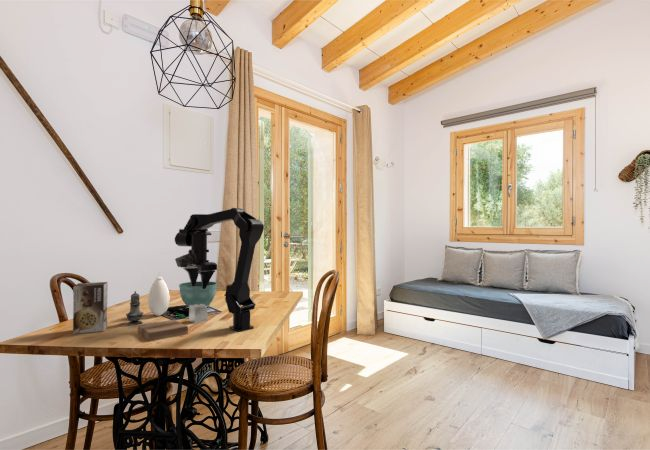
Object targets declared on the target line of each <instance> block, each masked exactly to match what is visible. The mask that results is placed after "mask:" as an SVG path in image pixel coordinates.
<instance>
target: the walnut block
mask: <svg viewBox="0 0 650 450" xmlns="http://www.w3.org/2000/svg"><path fill="white" fill-rule="evenodd" d="M188 328H189V326H188V325H186V324H184V323H181V322H180V321H177V320H176V319H170V320H164V321H158V322H152V323H146V324H145V323H144V324H138V325H137V334H138V335H140V336H142V337H143V338H144V339H146V340H147V341H149V342H155V341H157V340H158V341H159V340H163V339H164V340H165V339H169V338H174V337H179V336H183V335H188V334H189V333H188V330H189V329H188Z"/></svg>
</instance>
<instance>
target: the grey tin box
mask: <svg viewBox="0 0 650 450" xmlns="http://www.w3.org/2000/svg"><path fill="white" fill-rule="evenodd" d="M188 321H189V322H190V323H193V324H199V323H204V322H208V308H207V305H204V304H195V305H189V309H188Z"/></svg>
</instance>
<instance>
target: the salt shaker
mask: <svg viewBox="0 0 650 450" xmlns="http://www.w3.org/2000/svg"><path fill="white" fill-rule="evenodd" d="M129 305H130V307H129V308H130V309H129V312H128V313H126V314H125V316H126V319H127V320H128V322H126V325H127V326H138V325H143V321H142V320H141V319H142V318H143V315H144V312H143V311H141V310H140V305H141V302H140V294H139V293H137V290H135V291H134V293H132V294H131V296H130V303H129Z"/></svg>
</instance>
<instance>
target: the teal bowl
mask: <svg viewBox="0 0 650 450" xmlns="http://www.w3.org/2000/svg"><path fill="white" fill-rule="evenodd" d="M178 286H179V294H180V297H181V299H182V302H183V303H184V304H185V305H186V307H187V306H189V305H195V304H204V305H207V307H208V308H209V307H210V305H211V303H212V302H213V300H214V298H215V296H216V293H217V287H218V283H217V282H215V281H209V283H208V285H207V287H206V289H202V282H201V280H200V281H196V284H195V286H192V285H191V281H188V282H181V283H179V284H178Z"/></svg>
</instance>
